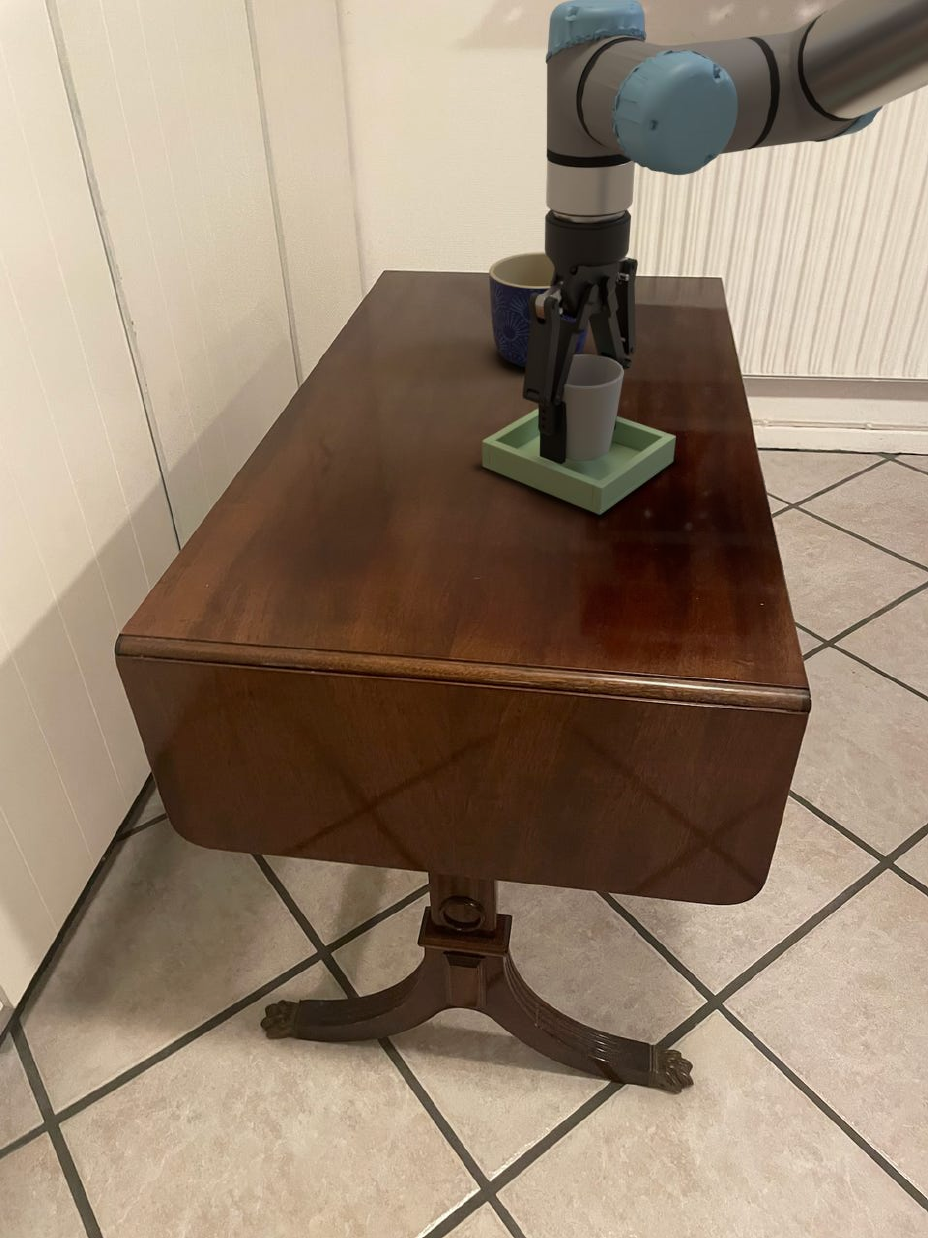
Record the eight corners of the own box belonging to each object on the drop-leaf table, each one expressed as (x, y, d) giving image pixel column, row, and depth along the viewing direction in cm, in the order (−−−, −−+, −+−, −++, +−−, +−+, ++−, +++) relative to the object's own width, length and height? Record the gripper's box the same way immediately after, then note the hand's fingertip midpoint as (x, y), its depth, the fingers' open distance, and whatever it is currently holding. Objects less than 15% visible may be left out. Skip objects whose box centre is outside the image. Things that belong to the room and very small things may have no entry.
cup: (543, 467, 94) (544, 387, 89) (544, 420, 102) (544, 344, 96) (621, 467, 93) (626, 386, 88) (615, 420, 101) (620, 343, 96)
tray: (673, 461, 99) (676, 435, 97) (600, 515, 91) (601, 488, 89) (558, 420, 107) (558, 395, 105) (482, 466, 99) (481, 440, 97)
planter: (479, 371, 117) (476, 283, 111) (504, 332, 127) (503, 249, 120) (578, 380, 114) (581, 290, 107) (597, 340, 123) (601, 254, 117)
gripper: (620, 176, 91) (607, 396, 105) (477, 232, 79) (484, 471, 94) (688, 188, 87) (665, 415, 101) (549, 249, 75) (544, 496, 89)
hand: (578, 442), depth 97 cm, fingers closed on cup, 8 cm apart
